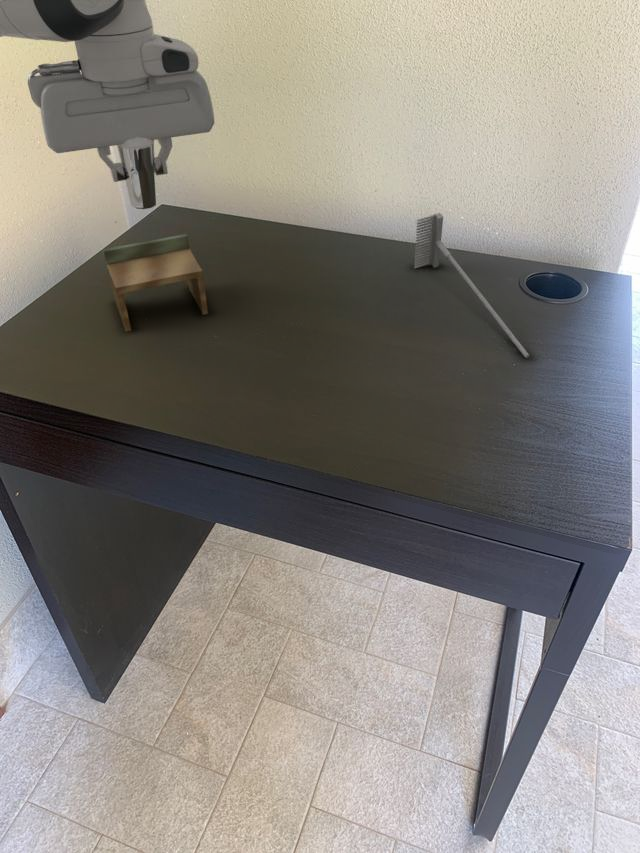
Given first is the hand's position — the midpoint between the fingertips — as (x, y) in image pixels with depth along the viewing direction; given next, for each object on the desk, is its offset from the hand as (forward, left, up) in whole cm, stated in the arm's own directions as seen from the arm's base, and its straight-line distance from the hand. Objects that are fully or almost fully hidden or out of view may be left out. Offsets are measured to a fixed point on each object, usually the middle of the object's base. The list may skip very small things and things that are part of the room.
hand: (140, 176), depth 87 cm
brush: (+42, -16, -20) cm, 49 cm away
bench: (0, +1, -20) cm, 20 cm away
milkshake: (0, 0, -4) cm, 4 cm away
